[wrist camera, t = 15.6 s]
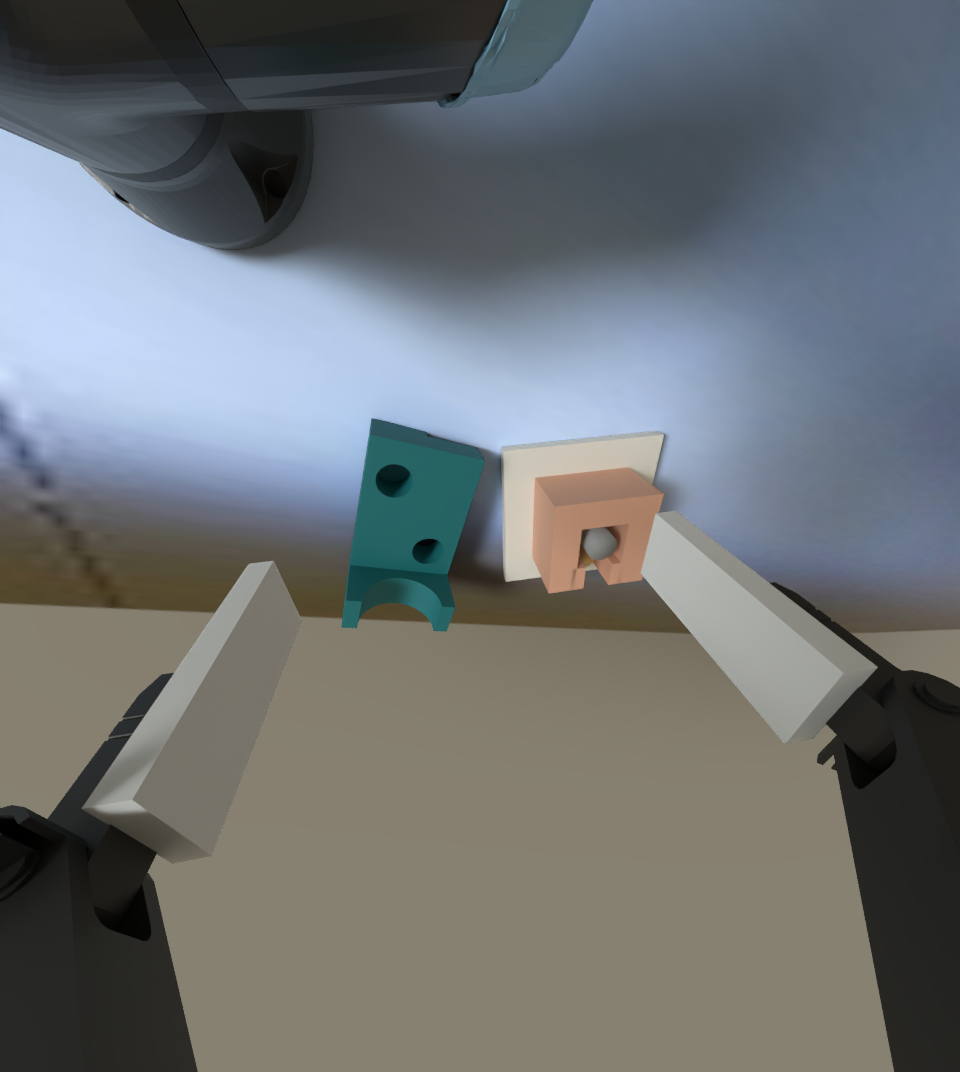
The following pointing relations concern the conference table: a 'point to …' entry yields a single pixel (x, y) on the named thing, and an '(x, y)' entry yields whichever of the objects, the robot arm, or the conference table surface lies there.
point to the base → (558, 460)
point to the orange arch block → (592, 524)
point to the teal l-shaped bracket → (409, 522)
